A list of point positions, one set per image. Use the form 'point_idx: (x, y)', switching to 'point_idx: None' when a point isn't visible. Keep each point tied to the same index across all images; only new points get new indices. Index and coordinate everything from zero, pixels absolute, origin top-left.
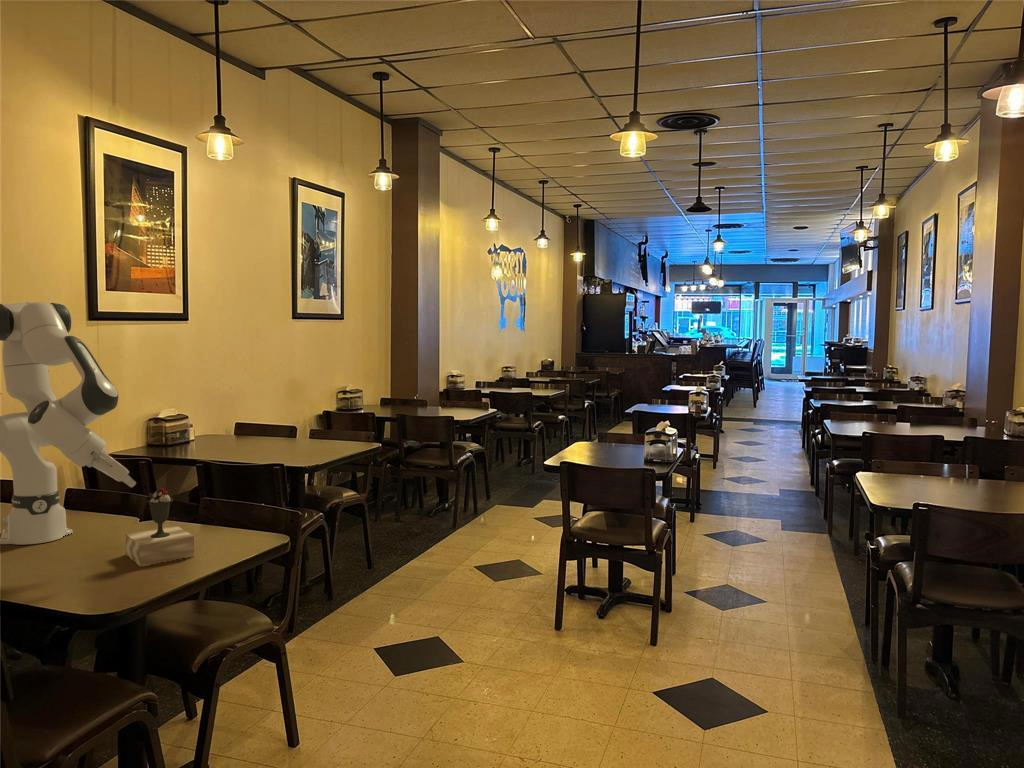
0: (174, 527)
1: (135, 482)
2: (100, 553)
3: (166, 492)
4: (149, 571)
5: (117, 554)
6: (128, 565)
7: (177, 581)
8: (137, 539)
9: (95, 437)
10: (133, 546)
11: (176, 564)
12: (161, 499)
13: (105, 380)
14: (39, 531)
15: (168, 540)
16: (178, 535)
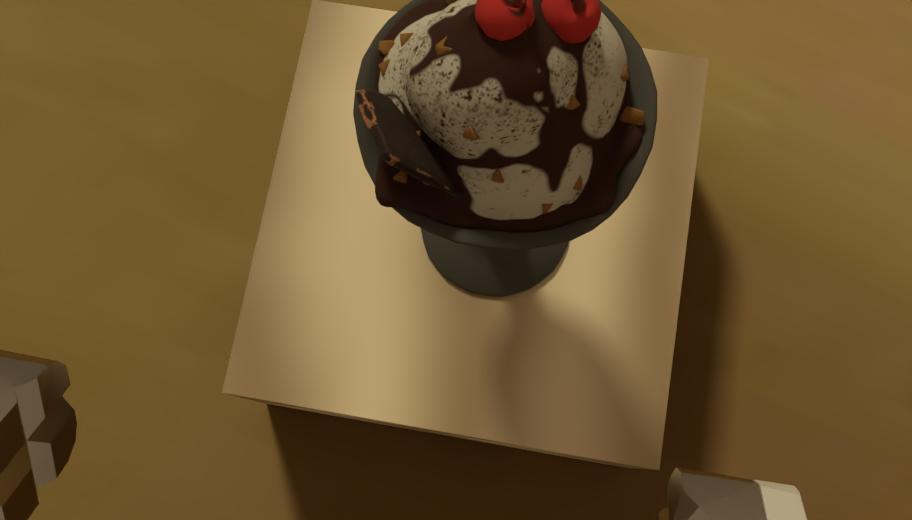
0: (343, 36)
1: (793, 500)
2: (85, 512)
3: (597, 3)
4: (774, 474)
5: (208, 440)
6: (529, 508)
7: None
8: (471, 405)
9: None
10: (458, 435)
11: (751, 279)
12: (607, 114)
13: None
14: None
15: (685, 246)
16: None
